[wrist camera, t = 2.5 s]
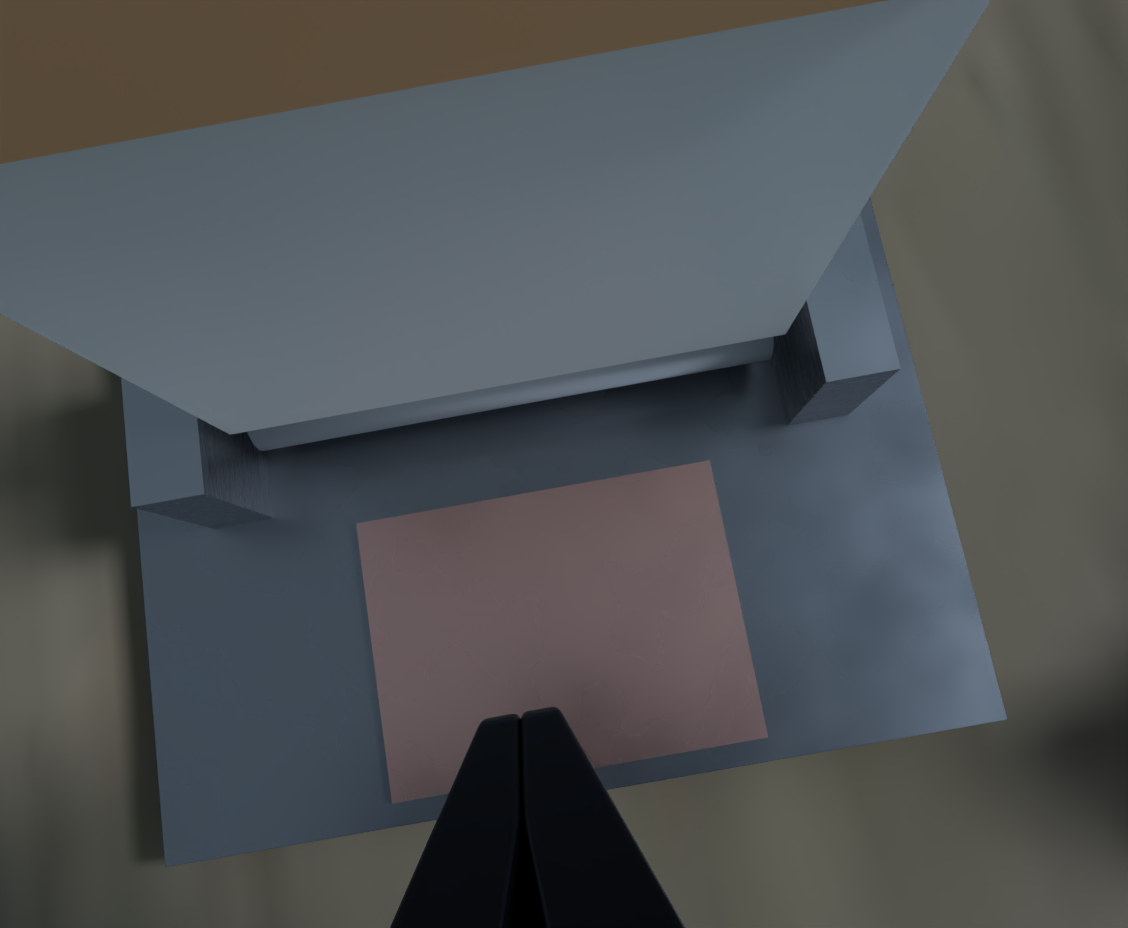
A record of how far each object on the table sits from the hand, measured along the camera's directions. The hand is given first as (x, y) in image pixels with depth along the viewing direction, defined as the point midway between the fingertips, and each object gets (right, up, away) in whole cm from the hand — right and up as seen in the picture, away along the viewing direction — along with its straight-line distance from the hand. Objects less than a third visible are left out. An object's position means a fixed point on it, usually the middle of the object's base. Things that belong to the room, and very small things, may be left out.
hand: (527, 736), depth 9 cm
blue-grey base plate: (-1, +4, +12) cm, 13 cm away
